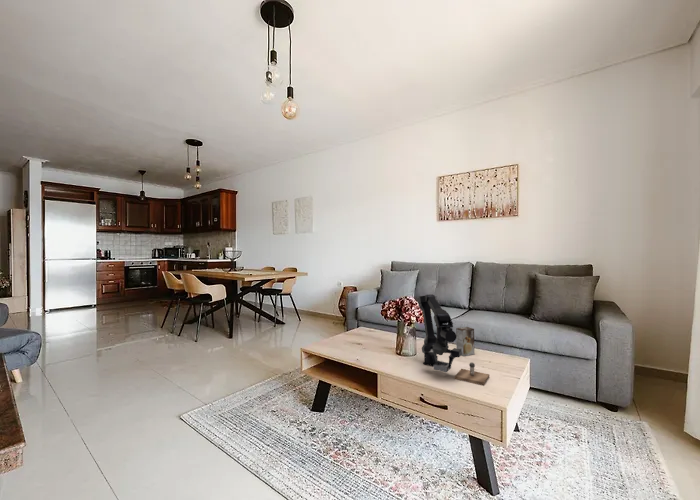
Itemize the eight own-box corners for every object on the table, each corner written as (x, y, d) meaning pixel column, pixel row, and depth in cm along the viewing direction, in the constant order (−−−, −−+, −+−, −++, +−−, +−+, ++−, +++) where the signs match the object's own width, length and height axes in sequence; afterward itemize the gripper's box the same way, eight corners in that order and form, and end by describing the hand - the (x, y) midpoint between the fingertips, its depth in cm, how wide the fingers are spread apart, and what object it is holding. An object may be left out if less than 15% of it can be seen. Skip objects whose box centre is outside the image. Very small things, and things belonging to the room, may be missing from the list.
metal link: (433, 369, 165) (433, 364, 165) (438, 365, 171) (438, 360, 171) (446, 372, 161) (446, 367, 161) (451, 367, 167) (451, 363, 167)
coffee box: (467, 351, 203) (467, 326, 203) (474, 354, 198) (474, 328, 198) (456, 353, 200) (455, 328, 200) (463, 356, 194) (463, 330, 194)
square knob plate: (454, 379, 161) (454, 363, 161) (461, 371, 171) (461, 356, 171) (484, 385, 153) (484, 369, 153) (489, 377, 163) (489, 361, 163)
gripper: (419, 337, 165) (419, 367, 165) (455, 343, 154) (455, 375, 154) (427, 332, 174) (427, 361, 174) (462, 338, 163) (462, 368, 164)
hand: (442, 366), depth 166 cm, fingers closed on metal link, 7 cm apart
